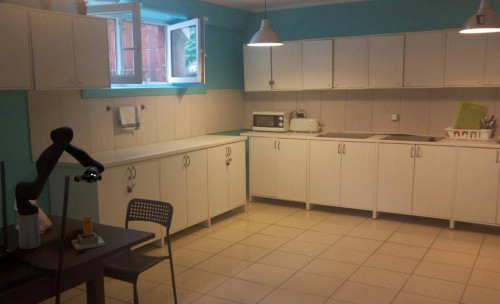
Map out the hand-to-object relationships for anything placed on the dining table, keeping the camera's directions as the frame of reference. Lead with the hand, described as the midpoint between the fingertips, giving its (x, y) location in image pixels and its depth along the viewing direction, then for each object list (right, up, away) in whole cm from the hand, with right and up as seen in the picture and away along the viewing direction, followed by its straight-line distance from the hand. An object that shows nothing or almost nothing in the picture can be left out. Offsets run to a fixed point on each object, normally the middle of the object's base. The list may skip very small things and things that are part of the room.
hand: (86, 180), depth 253 cm
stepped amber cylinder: (+5, -30, -13) cm, 33 cm away
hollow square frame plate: (+5, -32, -13) cm, 35 cm away
